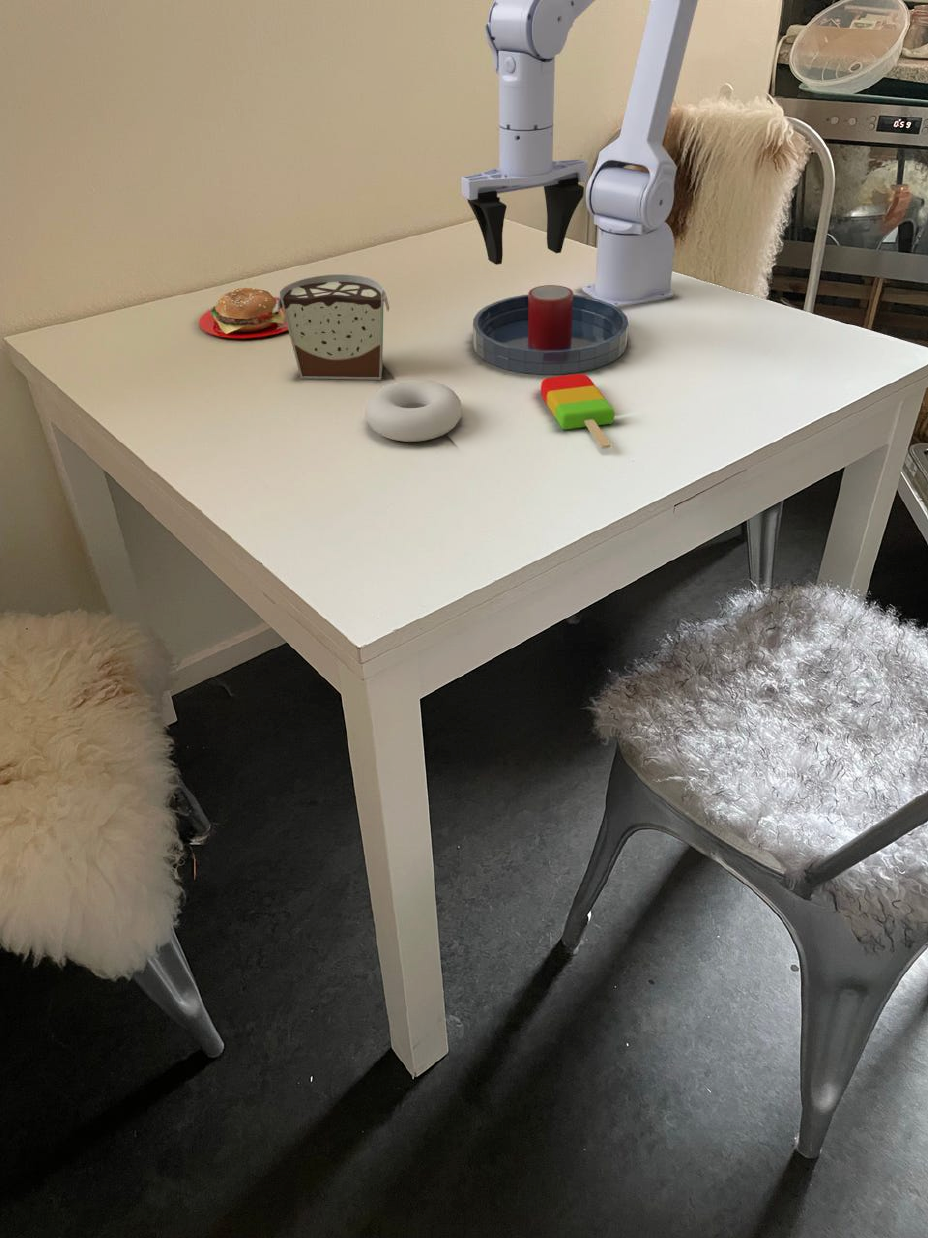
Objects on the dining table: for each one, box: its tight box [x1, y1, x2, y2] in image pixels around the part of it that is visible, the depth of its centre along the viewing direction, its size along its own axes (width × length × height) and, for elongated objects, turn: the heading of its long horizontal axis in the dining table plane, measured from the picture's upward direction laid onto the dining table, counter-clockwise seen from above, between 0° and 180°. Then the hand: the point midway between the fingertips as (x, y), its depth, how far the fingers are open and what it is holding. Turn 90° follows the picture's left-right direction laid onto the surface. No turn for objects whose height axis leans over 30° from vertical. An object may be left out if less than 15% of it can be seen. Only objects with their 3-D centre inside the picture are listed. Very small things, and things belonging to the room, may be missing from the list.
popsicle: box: [540, 373, 615, 449], centre depth 99 cm, size 6×15×2 cm, turn 12°
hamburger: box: [198, 286, 289, 339], centre depth 123 cm, size 14×14×6 cm
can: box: [527, 284, 574, 350], centre depth 113 cm, size 5×5×6 cm
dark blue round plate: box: [472, 293, 629, 376], centre depth 114 cm, size 18×18×3 cm
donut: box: [365, 379, 463, 443], centre depth 99 cm, size 10×4×10 cm
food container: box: [277, 273, 390, 381], centre depth 109 cm, size 12×6×10 cm, turn 84°
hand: (525, 256), depth 110 cm, fingers open, 7 cm apart
